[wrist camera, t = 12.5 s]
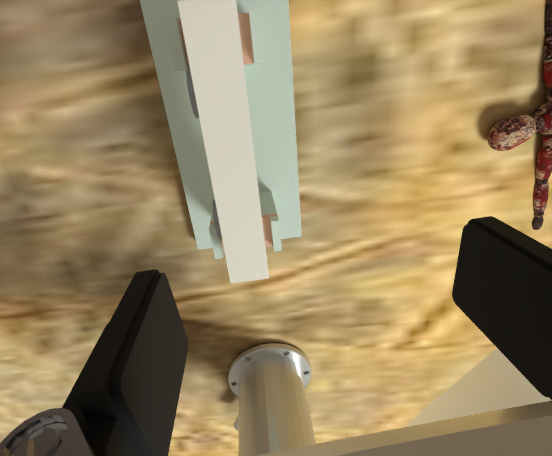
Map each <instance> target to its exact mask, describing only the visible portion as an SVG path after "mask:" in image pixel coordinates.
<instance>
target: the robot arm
mask: <svg viewBox="0 0 552 456" xmlns="http://www.w3.org/2000/svg"><path fill="white" fill-rule="evenodd" d="M452 296H453V300H454V302H455V304H456V305H457V306H458V307H459V308H460V309H461V310H462V311H463V312H464V313H465V314H466V315H467V316H468V317H469V319H470V320H471V321H472V322H473V323H474V324H475V325H476V326H477V327H478V328H479V329H480V330H481V331H482V332H483V333H484V334H485V335H486V336H487V337H488V339H489V340H490V341H491V342H492V343H493V344H494V345H495V346H496V347H497V348H498V349H499V350H500V351H501V352H502V353H503V354H504V355H505V356H506V357H507V358H508V360H509V361H510V362H511V363H512V364H513V365H514V366H515V367H516V368H517V369H518V370H519V371H520V372H521V373H522V374H523V375H524V376H525V377H526V379H528V381H529V382H530V383H531V384H532V385H533V386H534V387H535V388H536V389H537V390H538V391H539V392H540V393H541V394H542V395H544V396H546V397H549V398H550V399H551V400H552V249H551V248H549V247H547V246H545V245H543V244H542V243H540V242H538V241H536V240H534V239H533V238H531V237H529V236H527V235H525V234H523V233H522V232H520V231H518V230H516V229H514V228H513V227H511V226H509V225H507V224H505V223H504V222H502V221H500V220H498V219H496V218H495V217H492V216H490V217H483V218H476V219H471V220H470V221H469V222H468V224H467V225H465V226H464V228H463V232H462V238H461V244H460V250H459V256H458V262H457V267H456V273H455V279H454V285H453V291H452ZM187 352H188V339H187V336H186V333H185V330H184V327H183V324H182V321H181V318H180V315H179V312H178V309H177V306H176V303H175V300H174V297H173V294H172V291H171V288H170V286H169V283H168V280H167V277H166V275H165V273H159V271H158V270H156V269H154V270H148V271H142V272H137V273H136V274H135V275H134V277H133V279H132V281H131V283H130V284H129V286H128V288H127V290H126V292H125V294H124V296H123V298H122V300H121V301H120V303H119V305H118V307H117V309H116V311H115V313H114V315H113V317H112V318H111V320H110V322H109V323H108V324H107V325H106V327H105V329H104V331H103V332H102V334H101V336H100V338H99V340H98V342H97V344H96V345H95V347H94V349H93V351H92V353H91V355H90V357H89V359H88V360H87V362H86V364H85V366H84V368H83V370H82V372H81V373H80V375H79V377H78V379H77V381H76V383H75V385H74V386H73V388H72V390H71V392H70V394H69V396H68V398H67V400H66V401H65V403H64V405H63V407H62V408H54V409H49V410H46V411H43V412H40V413H38V414H36V415H34V416H33V417H31V418H29V419H27V420H26V421H24V422H23V423H22V424H20V425H19V426H18V427H16V428H15V429H14V430H13V431H12V432H11V433H10V434H9V435H8V436H7V437H6V438H5V439H4V440H3V441H2V442H1V443H0V456H168V452H169V447H170V441H171V436H172V431H173V426H174V420H175V415H176V410H177V405H178V399H179V394H180V389H181V383H182V378H183V373H184V368H185V362H186V357H187ZM310 378H311V367H310V363H309V361H308V358H307V357H306V356H305V354H304V353H303V352H301V351H300V350H299V349H297V348H295V347H293V346H289V345H286V344H279V343H269V344H262V345H258V346H255V347H252V348H250V349H248V350H246V351H244V352H243V353H241V354H240V355H239V356H238V357H237V358H236V359H235V360H234V361H233V363H232V364H231V366H230V369H229V375H228V383H229V386H230V389H231V390H232V392H233V393H234V394H235V395H236V396H237V397H239V415H238V417H237V418H236V420H235V422H234V427H235V429H236V430H238V431H239V456H552V401H548V402H542V403H536V404H530V405H525V406H519V407H514V408H508V409H502V410H497V411H491V412H486V413H481V414H475V415H470V416H464V417H459V418H453V419H448V420H442V421H437V422H432V423H426V424H421V425H415V426H410V427H405V428H399V429H394V430H388V431H383V432H378V433H372V434H367V435H362V436H356V437H351V438H346V439H340V440H335V441H330V442H325V443H319V444H316V442H315V437H314V432H313V427H312V422H311V418H310V413H309V408H308V403H307V398H306V393H305V387H306V386H307V384H308V383H309V381H310Z"/></svg>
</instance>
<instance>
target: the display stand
mask: <svg viewBox="0 0 552 456" xmlns="http://www.w3.org/2000/svg"><path fill="white" fill-rule="evenodd" d="M177 1H182V0H140V4H141V8H142V13H143V17H144V21H145V25H146V30H147V34H148V38H149V42H150V47H151V51H152V55H153V59H154V64H155V68H156V72H157V77H158V81H159V85H160V89H161V94H162V98H163V102H164V106H165V111H166V115H167V119H168V123H169V128H170V132H171V136H172V141H173V145H174V149H175V153H176V158H177V162H178V166H179V170H180V175H181V179H182V183H183V187H184V192H185V196H186V200H187V205H188V209H189V213H190V217H191V222H192V226H193V230H194V234H195V239H196V243H197V247H198V250H199V249H206V248H213V251H214V256H215V259H220V258H223V253H224V252H225V250H224V245H223V240H222V237H219V238H218V236H217V233H216V229H215V224H214V217H213V200H214V199H215V198H214V192H213V187H212V182H211V176H210V171H209V166H208V161H207V155H206V150H205V145H204V140H203V134H202V129H201V124H200V118H196V117H195V115H194V113H193V110H192V106H191V102H190V98H189V93H188V87H187V78H186V69H187V68H190V66H189V60H188V55H187V50H186V44H185V39H184V34H183V29H182V23H181V18H180V13H179V7H178V2H177ZM236 4H237V12H238V21H239V29H240V38H241V46H242V54H243V63H244V71H245V80H246V88H247V97H248V105H249V113H250V122H251V130H252V139H253V147H254V156H255V164H256V172H257V181H258V189H259V198H260V206H261V215H262V223H263V231H264V240H265V247H269V246H273V248H274V251H282V246H281V239H285V238H293V237H301V236H302V235H301V217H300V199H299V182H298V164H297V146H296V128H295V110H294V92H293V75H292V57H291V39H290V21H289V3H288V0H236Z"/></svg>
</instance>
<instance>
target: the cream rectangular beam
mask: <svg viewBox="0 0 552 456" xmlns="http://www.w3.org/2000/svg"><path fill="white" fill-rule="evenodd" d="M177 2H178V7H179V13H180V18H181V23H182V29H183V34H184V39H185V44H186V50H187V55H188V60H189V66H190V68H187V69H186V78H187V87H188V93H189V98H190V102H191V106H192V110H193V113H194V115H195V117H196V118H200V124H201V129H202V134H203V140H204V145H205V150H206V155H207V161H208V166H209V171H210V176H211V182H212V187H213V192H214V198H215V199H214V200H213V217H214V224H215V229H216V233H217V236H218V238H219V237H222V240H223V245H224V250H225V256H226V261H227V266H228V272H229V277H230V282H231V283H237V282H245V281H252V280H260V279H267V278H269V274H268V265H267V257H266V248H265V240H264V231H263V223H262V215H261V206H260V198H259V189H258V181H257V172H256V164H255V156H254V147H253V139H252V130H251V122H250V113H249V105H248V97H247V88H246V80H245V71H244V63H243V54H242V46H241V38H240V29H239V21H238V12H237V4H236V0H182V1H177Z"/></svg>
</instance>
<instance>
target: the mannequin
mask: <svg viewBox="0 0 552 456" xmlns="http://www.w3.org/2000/svg"><path fill="white" fill-rule="evenodd" d="M545 33H546V36H545V41H546V43H545V45H544V74H543V78H544V81H545V85H546V87H547V88H549V90H548V91H547V92H546V98H547V100H548V101H549V102H547V103H545V104H543V105H541V106H540V107H539V108H538V109H537V110H536V112H535V115H534V116H529V115H522V116H517V117H512V118H508V119H503V120H500V121H499V122H497V123H496V124H495V125H494V126H493V127H492V128H491V130H490V131H489V133H488V143H489V145H490V147H491V148H493V149H495V150H498V151H505V150H510V149H512V148H514V147H516V146H517V145H519V144H521V143H523V142H525V141H526V140H528V139H529V138H531V137H532V136H533V135H534V133H535V132H539V133H541V134H543V135H544V136H543V138H542V141H543V144H542V145H541V147H540V149H539V151H538V155H537V164H536V176H535V177H536V180H535V183H536V184H535V186H534V195H533V208H534V212H535V213H534V216H535V217H534V219H533V221H532V226H533V229H534V230H538V229H540V228H541V226H542V224H543V215H544V212H543V211H544V210H545V207H546V204H547V200H548V188H549V185H548V182H547V181H548V178H549V177H550V175H551V172H552V0H547V3H546V12H545Z"/></svg>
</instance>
